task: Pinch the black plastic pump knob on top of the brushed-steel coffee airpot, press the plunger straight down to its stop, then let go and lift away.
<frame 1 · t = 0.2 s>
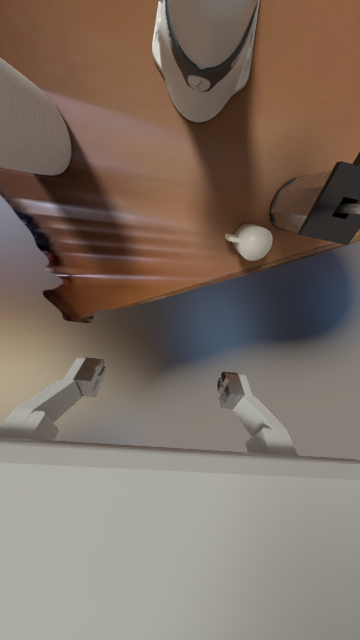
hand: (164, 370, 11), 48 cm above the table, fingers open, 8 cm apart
diner mug: (245, 238, 49), on the table
vase: (41, 135, 37), on the table
pump plunger: (354, 208, 28), point 20 cm above the table, slide at 0.0 cm
airpot: (291, 205, 44), on the table
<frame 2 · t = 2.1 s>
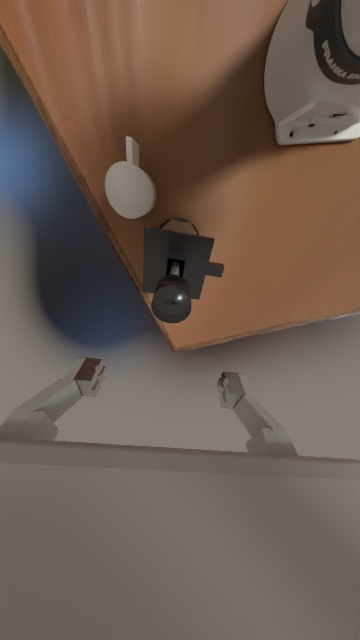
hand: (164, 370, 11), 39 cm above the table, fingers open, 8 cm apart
diner mug: (139, 193, 36), on the table
pump plunger: (174, 272, 26), point 20 cm above the table, slide at 0.0 cm
airpot: (177, 244, 42), on the table
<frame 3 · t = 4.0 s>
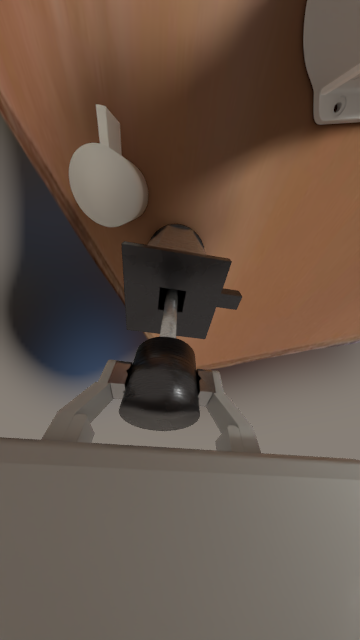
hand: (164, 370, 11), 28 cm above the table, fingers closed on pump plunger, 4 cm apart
diner mug: (124, 192, 27), on the table
pump plunger: (170, 310, 17), point 20 cm above the table, slide at 0.0 cm, touching gripper
airpot: (176, 256, 33), on the table
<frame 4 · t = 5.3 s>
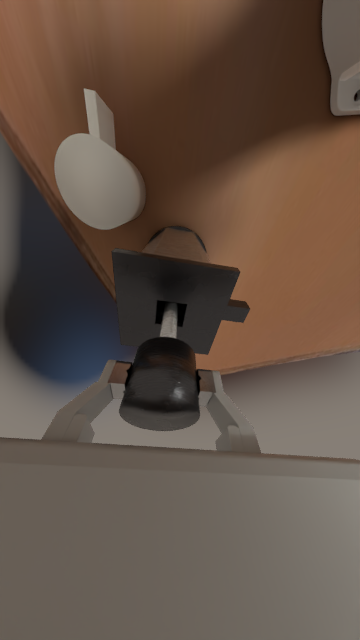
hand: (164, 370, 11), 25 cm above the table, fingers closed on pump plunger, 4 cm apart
diner mug: (119, 191, 25), on the table
pump plunger: (170, 310, 17), point 17 cm above the table, slide at 2.8 cm, touching gripper
airpot: (176, 260, 31), on the table
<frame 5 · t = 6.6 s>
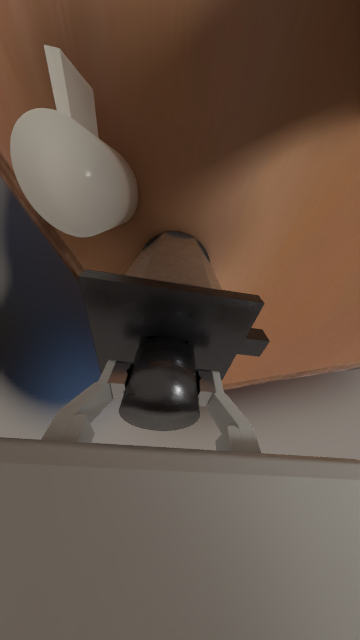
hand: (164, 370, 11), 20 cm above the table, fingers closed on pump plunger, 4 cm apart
diner mug: (106, 189, 21), on the table
pump plunger: (170, 310, 17), point 12 cm above the table, slide at 8.0 cm, touching gripper
airpot: (174, 270, 27), on the table
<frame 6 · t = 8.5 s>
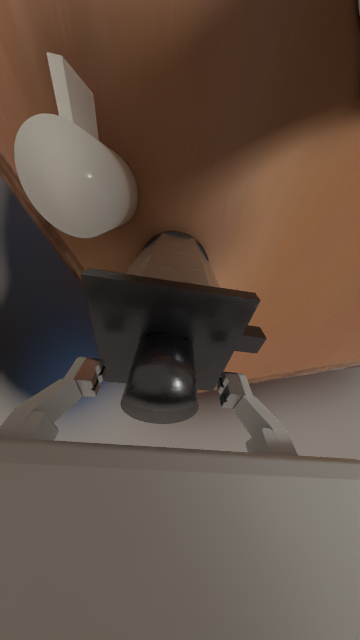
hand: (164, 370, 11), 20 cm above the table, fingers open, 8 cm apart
diner mug: (107, 190, 21), on the table
pump plunger: (170, 308, 18), point 12 cm above the table, slide at 8.0 cm
airpot: (173, 269, 27), on the table
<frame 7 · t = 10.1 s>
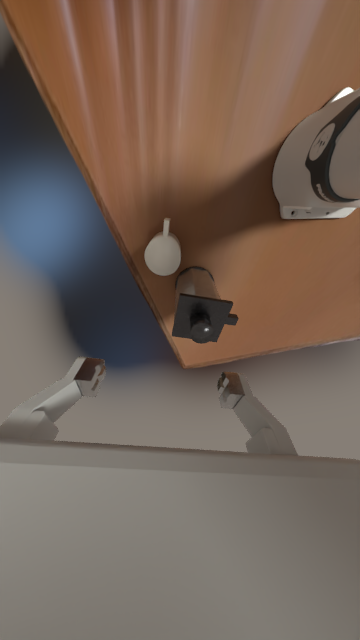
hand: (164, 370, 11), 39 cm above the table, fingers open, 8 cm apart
diner mug: (165, 248, 43), on the table
pump plunger: (197, 306, 39), point 12 cm above the table, slide at 8.0 cm
airpot: (194, 285, 49), on the table
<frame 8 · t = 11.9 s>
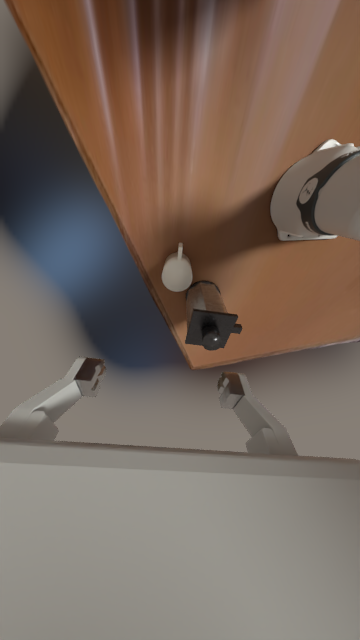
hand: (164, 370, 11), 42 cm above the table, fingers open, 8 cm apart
diner mug: (177, 266, 49), on the table
pump plunger: (207, 317, 46), point 12 cm above the table, slide at 8.0 cm
airpot: (202, 296, 55), on the table
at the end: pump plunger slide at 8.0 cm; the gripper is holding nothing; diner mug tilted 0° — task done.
